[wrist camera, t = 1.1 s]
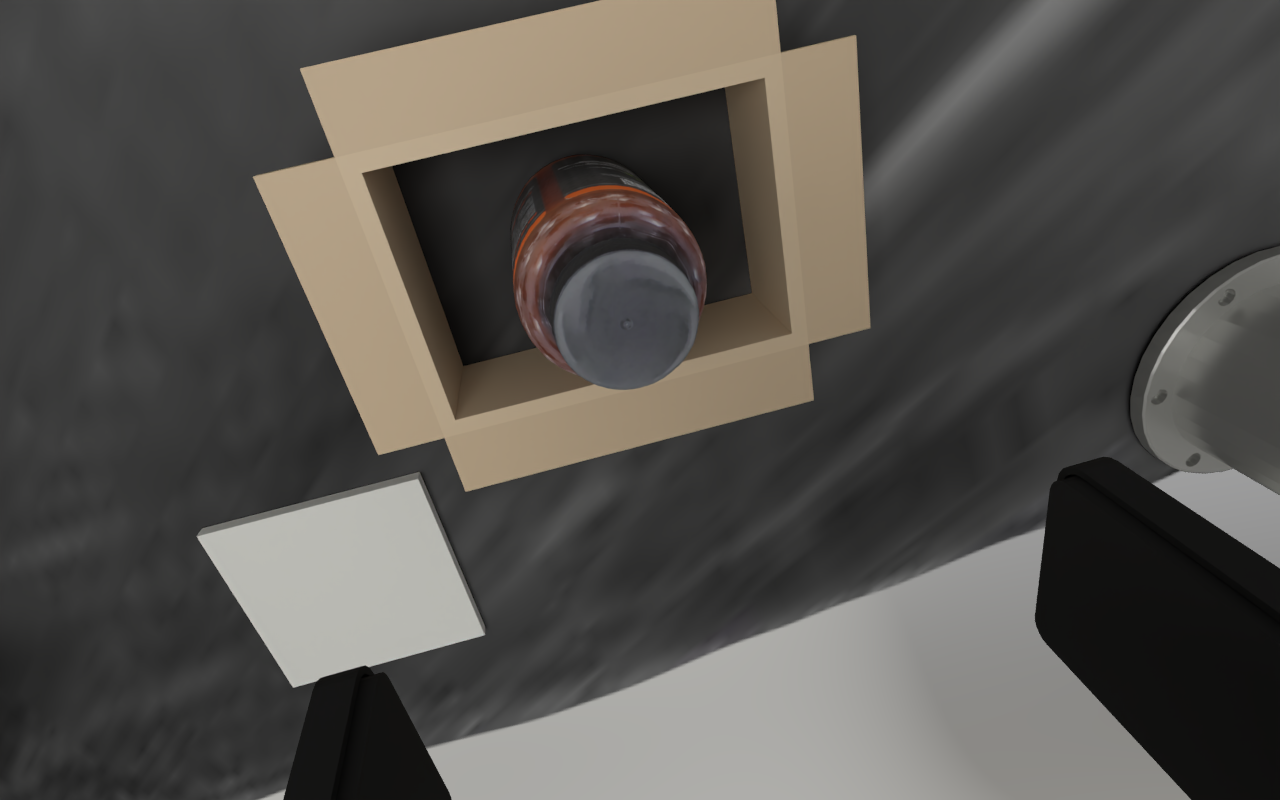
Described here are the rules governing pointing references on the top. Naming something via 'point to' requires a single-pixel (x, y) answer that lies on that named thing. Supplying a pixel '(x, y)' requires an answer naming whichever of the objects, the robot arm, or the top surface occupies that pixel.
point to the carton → (546, 98)
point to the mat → (347, 578)
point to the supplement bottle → (605, 273)
